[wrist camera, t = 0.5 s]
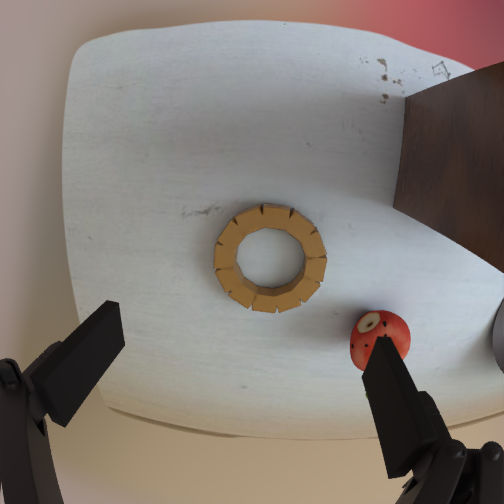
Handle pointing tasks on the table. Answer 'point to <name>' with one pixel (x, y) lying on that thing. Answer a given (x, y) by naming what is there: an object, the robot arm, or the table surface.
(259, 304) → the ring
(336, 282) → the table surface
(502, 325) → the dark holed disc
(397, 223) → the table surface
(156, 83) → the table surface
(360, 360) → the apple
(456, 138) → the stand
